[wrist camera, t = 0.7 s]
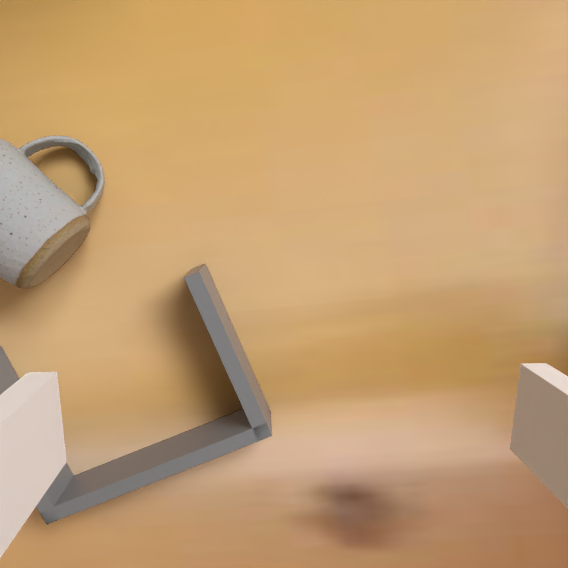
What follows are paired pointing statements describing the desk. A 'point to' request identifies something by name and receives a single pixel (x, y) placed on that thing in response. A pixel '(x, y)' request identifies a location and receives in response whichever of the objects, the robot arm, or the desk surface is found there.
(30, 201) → the ceramic mug
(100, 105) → the desk surface
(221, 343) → the grey c-shaped bracket
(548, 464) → the robot arm
